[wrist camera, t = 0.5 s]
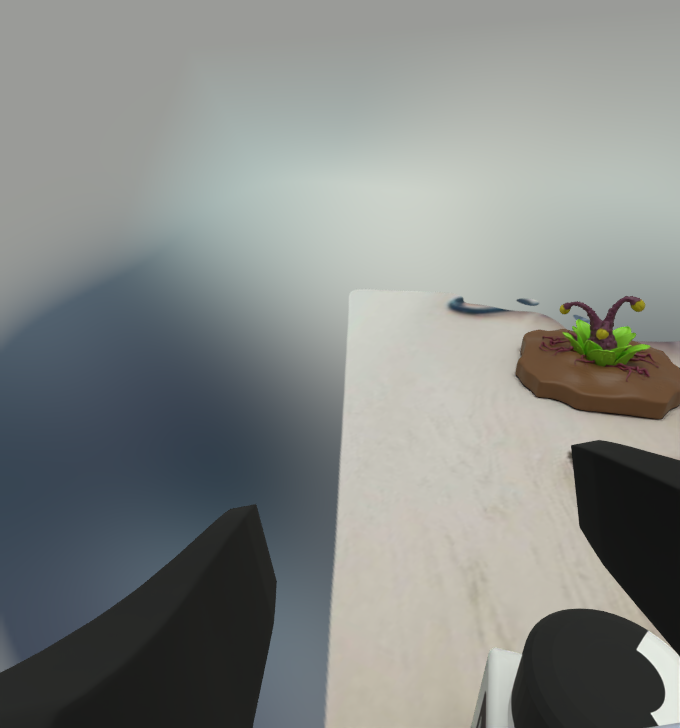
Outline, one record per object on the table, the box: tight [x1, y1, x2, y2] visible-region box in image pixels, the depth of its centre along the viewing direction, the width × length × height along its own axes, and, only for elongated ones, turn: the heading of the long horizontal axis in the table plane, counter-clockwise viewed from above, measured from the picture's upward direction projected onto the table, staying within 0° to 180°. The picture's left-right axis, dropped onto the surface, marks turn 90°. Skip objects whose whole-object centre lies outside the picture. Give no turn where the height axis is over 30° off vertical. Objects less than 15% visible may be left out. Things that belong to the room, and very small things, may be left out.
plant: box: [516, 296, 680, 419], centre depth 64 cm, size 20×20×11 cm
